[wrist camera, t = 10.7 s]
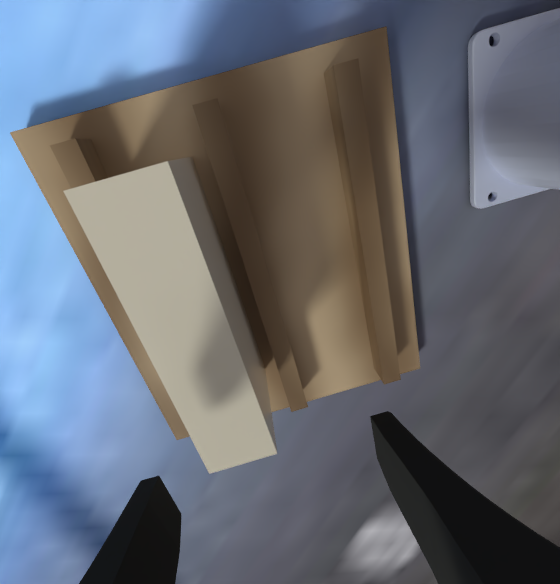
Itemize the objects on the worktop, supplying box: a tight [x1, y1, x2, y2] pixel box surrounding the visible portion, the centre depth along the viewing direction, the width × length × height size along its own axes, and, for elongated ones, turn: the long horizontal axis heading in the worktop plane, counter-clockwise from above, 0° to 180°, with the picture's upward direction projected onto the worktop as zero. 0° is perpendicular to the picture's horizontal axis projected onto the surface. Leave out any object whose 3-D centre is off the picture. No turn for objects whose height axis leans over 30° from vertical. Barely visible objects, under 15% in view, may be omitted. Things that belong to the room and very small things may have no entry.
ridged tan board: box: [10, 27, 420, 440], centre depth 17 cm, size 16×18×2 cm
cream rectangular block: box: [63, 157, 277, 474], centre depth 14 cm, size 3×12×6 cm, turn 15°
